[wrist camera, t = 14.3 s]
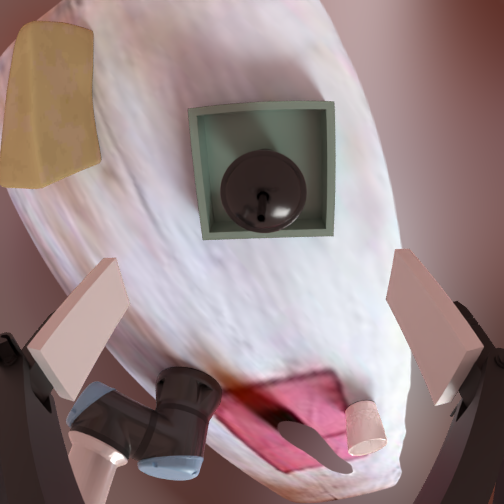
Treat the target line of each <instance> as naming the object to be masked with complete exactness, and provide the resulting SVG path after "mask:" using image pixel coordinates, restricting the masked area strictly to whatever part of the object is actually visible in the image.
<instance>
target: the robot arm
mask: <svg viewBox="0 0 504 504" xmlns="http://www.w3.org/2000/svg"><path fill="white" fill-rule="evenodd" d="M386 300H387V302H388V304H389V306H390V308H391V310H392V312H393V314H394V316H395V318H396V320H397V322H398V324H399V326H400V328H401V330H402V332H403V334H404V336H405V338H406V340H407V343H408V345H409V347H410V349H411V351H412V353H413V356H414V358H415V360H416V362H417V364H418V367H419V369H420V371H421V373H422V376H423V378H424V380H425V383H426V385H427V388H428V390H429V393H430V395H431V397H432V400H433V403H434V405H435V406H437V405H440V404H444V403H448V402H451V401H452V400H453V398H454V397H455V396H456V394H457V393H458V391H459V393H460V395H461V397H462V399H461V400H460V402H459V403H458V404H457V406H456V407H455V409H454V410H453V412H452V413H451V415H450V416H451V417H452V416H453V415H454V413H455V415H454V418H453V420H452V423H451V426H450V428H449V431H448V434H447V436H446V438H445V441H444V443H443V446H442V448H441V450H440V453H439V455H438V457H437V459H436V461H435V463H434V466H433V467H432V470H431V472H430V474H429V476H428V477H427V479H426V481H425V483H424V485H423V487H422V489H421V491H420V492H419V494H418V496H417V498H416V499H415V501H414V503H413V504H488V502H489V499H490V497H491V494H492V491H493V488H494V486H495V492H494V500H493V504H504V349H502V348H495V347H494V345H493V344H492V342H491V341H490V339H489V338H488V336H487V335H486V333H485V332H484V331H483V329H482V328H481V326H480V325H478V322H477V321H476V320H475V318H473V315H472V314H471V313H470V312H469V310H468V309H467V308H466V307H465V306H463V305H462V304H461V303H459V302H458V301H455V302H452V300H451V299H450V298H449V296H448V295H447V294H446V293H445V291H444V290H443V289H442V287H441V286H440V285H439V284H438V282H437V281H436V280H435V279H434V277H433V276H432V275H431V274H430V273H429V271H428V270H427V269H426V268H425V266H424V265H423V264H422V263H421V262H420V261H419V259H418V258H417V257H416V256H415V255H414V254H413V252H412V251H411V250H410V249H395V253H394V259H393V265H392V270H391V276H390V281H389V286H388V291H387V296H386ZM129 305H130V301H129V298H128V295H127V292H126V289H125V286H124V283H123V279H122V276H121V273H120V269H119V266H118V262H117V259H116V258H103V259H102V261H101V262H100V263H99V264H98V265H97V266H96V267H95V268H94V269H93V270H92V271H91V272H90V273H89V274H88V275H87V276H86V277H85V279H84V280H83V281H82V282H81V283H80V284H79V285H78V286H77V287H76V288H75V290H74V291H73V292H72V293H71V294H70V295H69V296H68V297H67V299H66V300H65V301H64V302H63V303H62V304H61V306H60V307H59V308H58V309H57V310H56V311H54V312H53V313H52V314H50V315H49V316H48V318H47V319H46V320H45V321H44V322H43V324H42V325H41V326H40V327H39V329H38V330H37V331H36V332H35V333H34V335H33V336H32V337H31V338H30V340H29V341H28V342H27V343H26V345H25V346H24V347H23V349H22V350H21V349H20V347H19V346H18V344H17V342H16V340H15V339H14V337H13V335H12V334H11V333H7V332H6V333H2V334H0V504H105V502H106V499H107V495H108V492H109V489H110V486H111V483H112V479H113V477H114V474H115V470H116V468H117V467H119V466H122V465H125V464H126V463H127V461H128V459H129V457H130V458H132V459H134V460H137V461H138V468H139V470H141V471H142V472H144V473H146V474H148V475H151V476H154V477H158V478H163V479H169V480H189V479H192V478H195V477H196V476H197V475H198V474H199V472H200V468H201V464H202V461H203V454H204V448H205V443H206V437H207V431H208V425H209V421H210V419H211V417H212V416H213V414H214V413H215V411H216V409H217V408H218V406H219V405H220V402H221V397H222V389H221V387H220V385H219V384H218V383H217V382H216V381H215V380H214V379H213V378H212V377H210V376H209V375H207V374H205V373H203V372H200V371H198V370H194V369H190V368H185V367H173V368H168V369H165V370H163V371H162V372H161V373H160V374H159V376H158V379H157V382H156V410H152V409H151V408H149V407H147V406H145V405H142V404H141V403H138V402H137V401H135V400H133V399H131V398H129V397H127V396H125V395H123V394H122V393H120V392H118V391H116V389H114V388H110V387H108V386H106V385H104V384H103V383H101V382H93V383H91V384H90V385H89V386H88V387H87V388H86V389H85V390H84V391H83V392H82V394H81V395H80V397H79V398H78V399H77V401H76V402H75V404H74V406H73V408H72V410H71V411H70V413H69V415H68V417H67V419H66V423H67V425H68V426H69V427H70V428H71V429H70V432H69V438H70V440H71V442H72V445H73V446H72V448H71V450H70V453H69V455H67V451H66V448H65V444H64V441H63V437H62V433H61V429H60V425H59V421H58V416H57V411H56V407H55V402H54V398H53V396H52V395H51V391H52V389H53V388H54V389H55V390H56V392H57V393H58V394H59V396H60V397H62V398H65V399H68V400H71V401H75V399H76V397H77V395H78V393H79V391H80V389H81V387H82V385H83V384H84V382H85V380H86V378H87V376H88V374H89V373H90V371H91V369H92V367H93V366H94V364H95V362H96V360H97V359H98V357H99V355H100V353H101V351H102V350H103V348H104V346H105V345H106V343H107V341H108V340H109V338H110V336H111V335H112V333H113V331H114V330H115V328H116V326H117V325H118V323H119V321H120V320H121V318H122V317H123V315H124V313H125V312H126V310H127V309H128V307H129ZM495 483H496V485H495Z"/></svg>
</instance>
